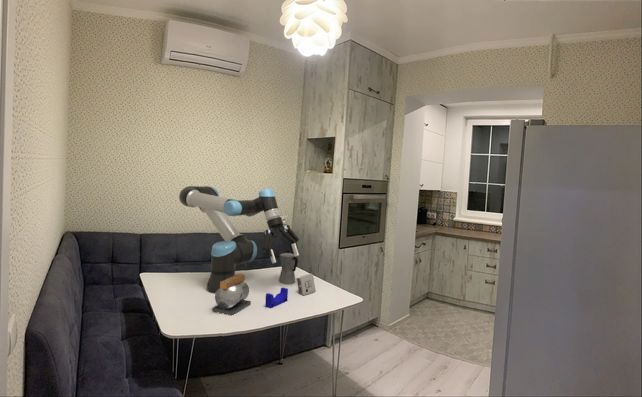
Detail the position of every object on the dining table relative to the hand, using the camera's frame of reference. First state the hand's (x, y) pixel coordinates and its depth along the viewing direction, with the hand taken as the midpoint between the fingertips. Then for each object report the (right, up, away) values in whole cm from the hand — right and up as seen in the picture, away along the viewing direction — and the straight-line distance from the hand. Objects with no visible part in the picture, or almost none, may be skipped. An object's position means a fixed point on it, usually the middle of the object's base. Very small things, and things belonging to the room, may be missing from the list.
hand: (285, 259), depth 166 cm
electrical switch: (+10, -18, +3) cm, 20 cm away
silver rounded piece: (-21, -17, -21) cm, 34 cm away
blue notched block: (-3, -18, -14) cm, 23 cm away
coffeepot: (-1, -16, +19) cm, 25 cm away
